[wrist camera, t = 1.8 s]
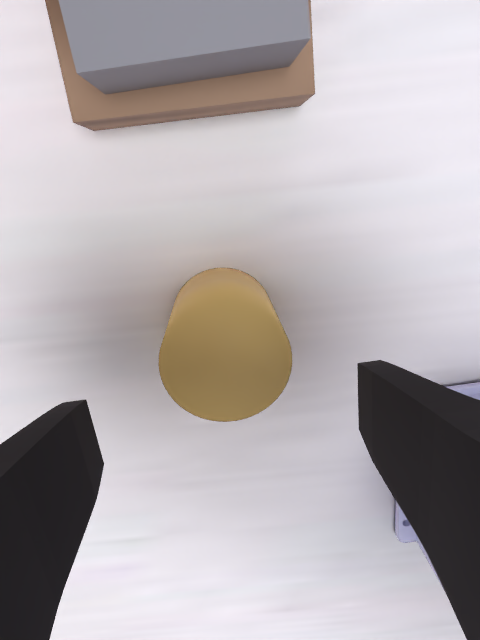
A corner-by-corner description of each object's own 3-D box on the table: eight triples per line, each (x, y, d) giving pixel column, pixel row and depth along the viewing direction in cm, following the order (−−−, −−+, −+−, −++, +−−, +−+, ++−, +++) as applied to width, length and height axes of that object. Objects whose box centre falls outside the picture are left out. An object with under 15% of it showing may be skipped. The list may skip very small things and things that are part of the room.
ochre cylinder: (276, 355, 19) (296, 412, 15) (181, 367, 19) (171, 429, 14) (267, 261, 18) (286, 291, 13) (164, 274, 18) (146, 309, 13)
